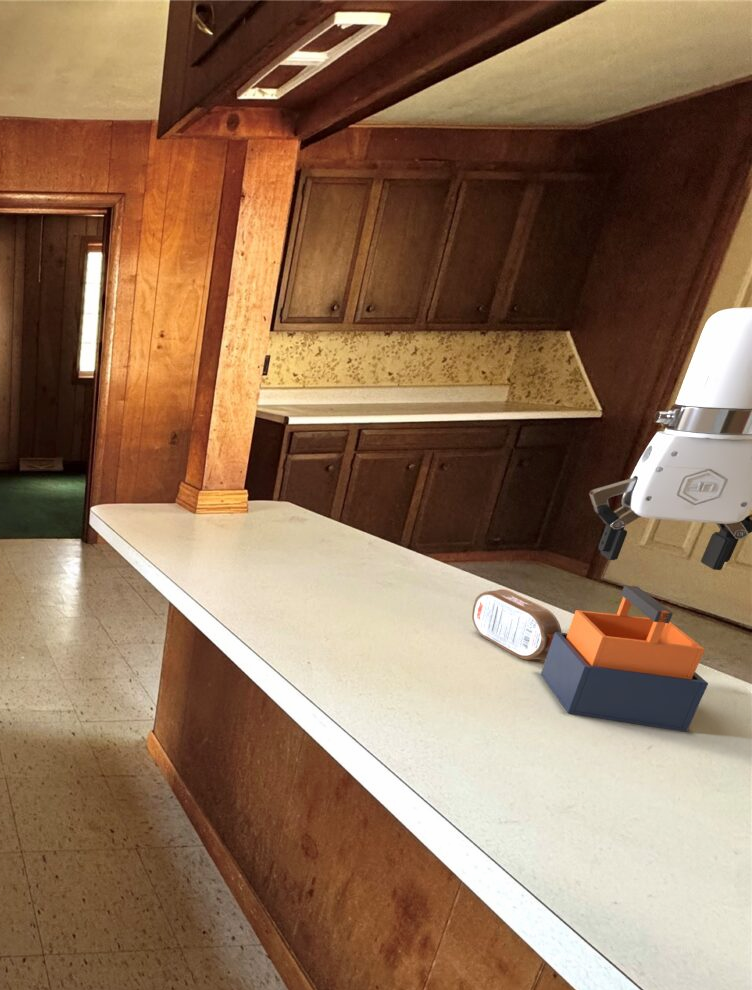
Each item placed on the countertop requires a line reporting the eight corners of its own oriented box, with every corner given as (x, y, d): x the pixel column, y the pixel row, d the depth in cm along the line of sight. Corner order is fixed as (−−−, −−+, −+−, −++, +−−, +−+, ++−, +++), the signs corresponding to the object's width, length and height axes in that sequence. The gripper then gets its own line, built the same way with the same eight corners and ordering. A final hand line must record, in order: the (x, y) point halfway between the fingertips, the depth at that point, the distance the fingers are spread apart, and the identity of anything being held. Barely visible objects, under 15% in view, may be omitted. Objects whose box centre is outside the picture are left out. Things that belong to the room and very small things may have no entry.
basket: (639, 687, 92) (679, 590, 87) (673, 723, 84) (719, 617, 79) (552, 675, 96) (585, 581, 91) (576, 708, 88) (614, 606, 83)
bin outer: (645, 689, 93) (663, 644, 90) (686, 732, 83) (708, 683, 81) (540, 674, 98) (554, 631, 95) (567, 713, 88) (584, 666, 85)
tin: (554, 668, 99) (572, 617, 96) (533, 669, 99) (550, 618, 96) (481, 628, 113) (494, 582, 110) (462, 628, 113) (475, 582, 110)
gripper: (630, 423, 77) (580, 562, 83) (844, 429, 70) (772, 580, 76) (604, 416, 83) (560, 545, 90) (799, 421, 76) (736, 561, 83)
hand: (657, 561), depth 83 cm, fingers open, 9 cm apart
